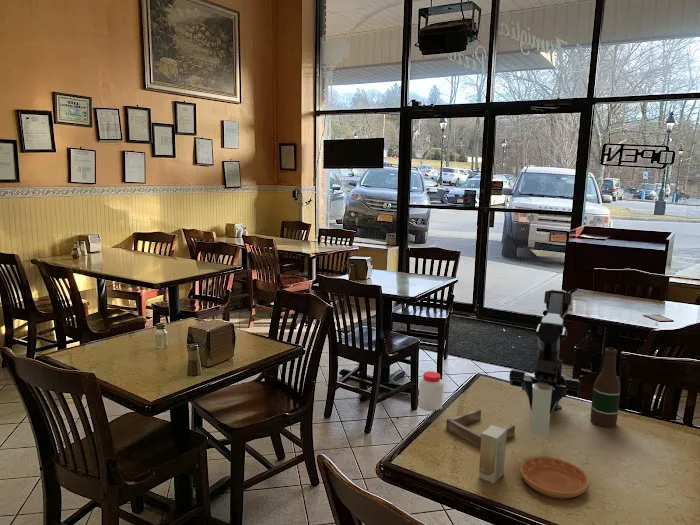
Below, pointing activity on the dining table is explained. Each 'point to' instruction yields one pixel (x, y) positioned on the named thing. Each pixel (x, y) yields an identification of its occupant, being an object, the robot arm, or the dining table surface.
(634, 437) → the dining table surface
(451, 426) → the box
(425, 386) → the pill bottle
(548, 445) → the dining table surface
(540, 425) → the block
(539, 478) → the saucer
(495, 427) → the skincare box
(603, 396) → the beer bottle
